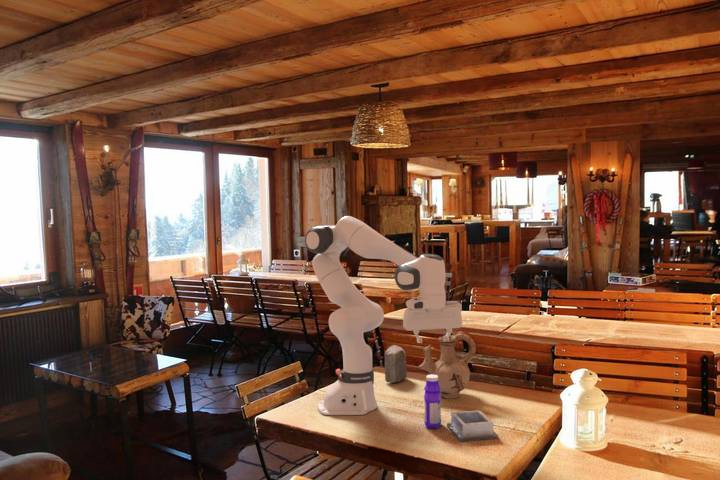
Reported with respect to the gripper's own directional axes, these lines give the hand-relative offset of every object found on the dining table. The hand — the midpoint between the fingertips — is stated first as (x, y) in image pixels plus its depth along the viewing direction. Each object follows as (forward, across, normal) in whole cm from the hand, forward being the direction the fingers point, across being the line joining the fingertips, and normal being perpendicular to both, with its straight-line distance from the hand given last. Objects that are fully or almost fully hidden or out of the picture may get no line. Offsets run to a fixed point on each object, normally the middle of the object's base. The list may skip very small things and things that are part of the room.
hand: (432, 342), depth 189 cm
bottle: (+29, 0, 0) cm, 29 cm away
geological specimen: (+29, +1, -52) cm, 60 cm away
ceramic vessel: (+29, -15, -30) cm, 44 cm away
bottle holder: (+29, -11, +8) cm, 32 cm away
